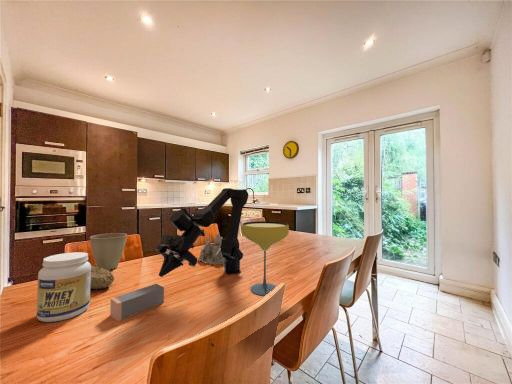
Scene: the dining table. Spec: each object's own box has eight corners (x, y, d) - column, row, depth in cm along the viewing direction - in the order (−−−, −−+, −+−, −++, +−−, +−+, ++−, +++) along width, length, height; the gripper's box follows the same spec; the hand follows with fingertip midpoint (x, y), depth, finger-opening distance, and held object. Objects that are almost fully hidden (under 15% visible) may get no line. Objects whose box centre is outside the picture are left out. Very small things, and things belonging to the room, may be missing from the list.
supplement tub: (26, 328, 58) (28, 264, 59) (48, 307, 69) (49, 253, 70) (83, 318, 63) (84, 259, 64) (94, 300, 74) (96, 249, 75)
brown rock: (72, 284, 90) (67, 291, 74) (77, 264, 92) (73, 267, 77) (109, 284, 97) (112, 290, 81) (113, 265, 99) (117, 267, 84)
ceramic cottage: (199, 256, 128) (200, 231, 127) (227, 257, 130) (229, 232, 129) (195, 267, 112) (197, 238, 112) (227, 267, 114) (229, 238, 114)
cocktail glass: (245, 279, 94) (246, 220, 95) (288, 281, 92) (288, 221, 92) (236, 298, 76) (237, 226, 77) (288, 302, 74) (289, 228, 74)
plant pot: (127, 270, 104) (128, 236, 105) (88, 276, 96) (88, 239, 96) (125, 262, 117) (125, 231, 117) (90, 266, 108) (90, 234, 109)
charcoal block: (156, 283, 76) (110, 298, 65) (163, 287, 73) (117, 303, 62) (155, 298, 76) (110, 315, 65) (163, 302, 73) (117, 321, 62)
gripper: (160, 223, 85) (130, 258, 76) (190, 227, 74) (159, 269, 65) (178, 240, 91) (151, 274, 82) (208, 247, 80) (181, 287, 71)
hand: (159, 276), depth 75 cm, fingers closed
